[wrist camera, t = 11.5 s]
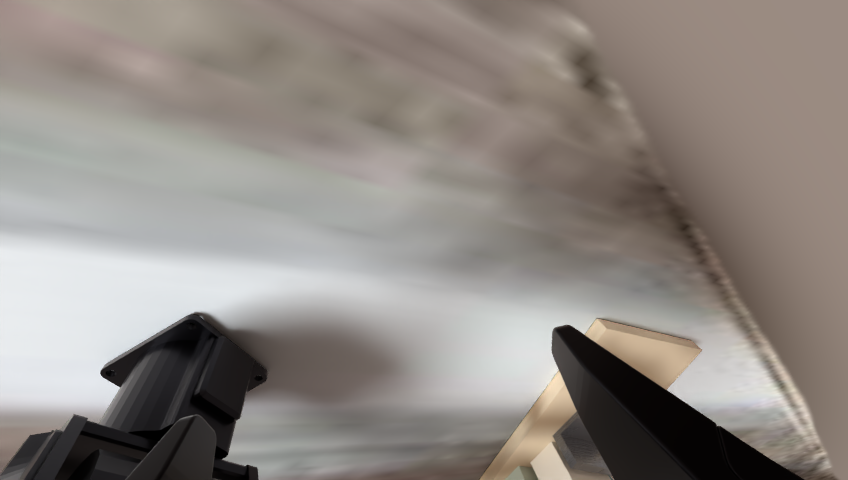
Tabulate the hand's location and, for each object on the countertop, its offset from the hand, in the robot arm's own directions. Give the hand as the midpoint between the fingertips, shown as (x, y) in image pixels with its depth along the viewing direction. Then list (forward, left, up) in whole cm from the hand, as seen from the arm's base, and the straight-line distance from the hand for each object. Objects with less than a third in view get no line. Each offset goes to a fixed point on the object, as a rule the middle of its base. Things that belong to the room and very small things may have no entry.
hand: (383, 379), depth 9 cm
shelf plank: (+5, -31, -12) cm, 33 cm away
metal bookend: (+6, -31, -11) cm, 33 cm away
